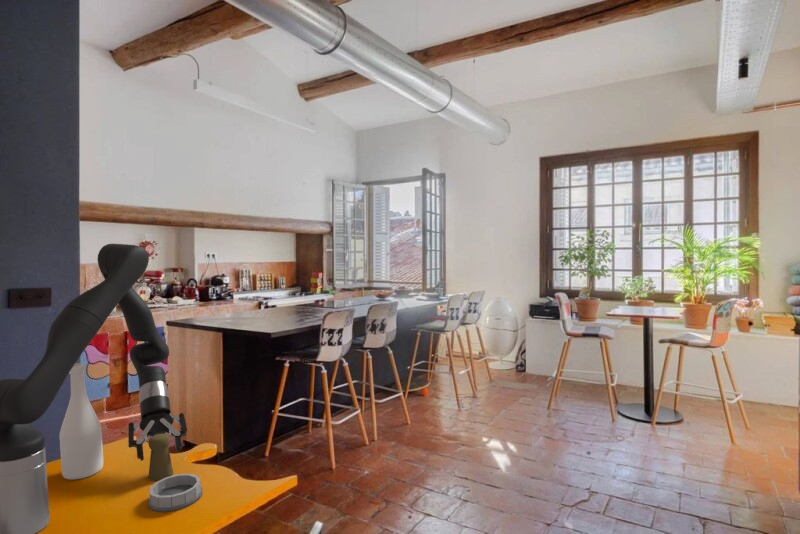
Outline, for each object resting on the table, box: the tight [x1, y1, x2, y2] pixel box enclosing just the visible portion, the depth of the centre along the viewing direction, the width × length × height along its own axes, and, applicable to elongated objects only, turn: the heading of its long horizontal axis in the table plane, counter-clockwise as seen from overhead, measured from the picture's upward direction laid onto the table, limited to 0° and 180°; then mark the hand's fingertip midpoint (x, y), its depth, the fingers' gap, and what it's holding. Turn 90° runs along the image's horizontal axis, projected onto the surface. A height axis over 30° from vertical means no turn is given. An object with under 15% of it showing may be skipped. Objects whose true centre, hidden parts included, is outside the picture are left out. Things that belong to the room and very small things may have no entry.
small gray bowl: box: [147, 473, 203, 513], centre depth 116 cm, size 12×12×3 cm
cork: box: [147, 433, 174, 482], centre depth 127 cm, size 6×6×11 cm
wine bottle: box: [59, 363, 104, 481], centre depth 129 cm, size 10×10×30 cm
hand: (160, 455), depth 126 cm, fingers open, 8 cm apart
